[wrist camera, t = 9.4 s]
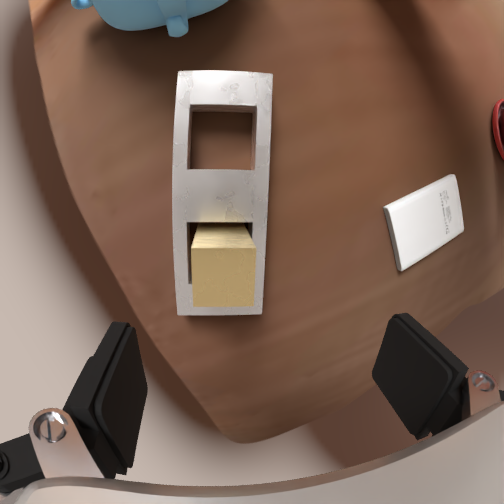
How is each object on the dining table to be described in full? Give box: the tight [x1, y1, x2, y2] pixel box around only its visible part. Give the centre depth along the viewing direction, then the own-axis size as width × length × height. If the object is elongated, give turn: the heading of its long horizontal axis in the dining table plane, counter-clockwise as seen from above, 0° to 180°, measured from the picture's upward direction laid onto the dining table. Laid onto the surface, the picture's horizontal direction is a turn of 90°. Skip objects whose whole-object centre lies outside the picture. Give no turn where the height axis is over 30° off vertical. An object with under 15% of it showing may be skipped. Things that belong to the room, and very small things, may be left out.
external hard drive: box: [383, 174, 464, 271], centre depth 29 cm, size 2×8×12 cm
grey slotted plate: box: [172, 70, 273, 315], centre depth 24 cm, size 22×8×3 cm, turn 178°
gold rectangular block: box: [191, 222, 256, 307], centre depth 23 cm, size 4×4×9 cm
